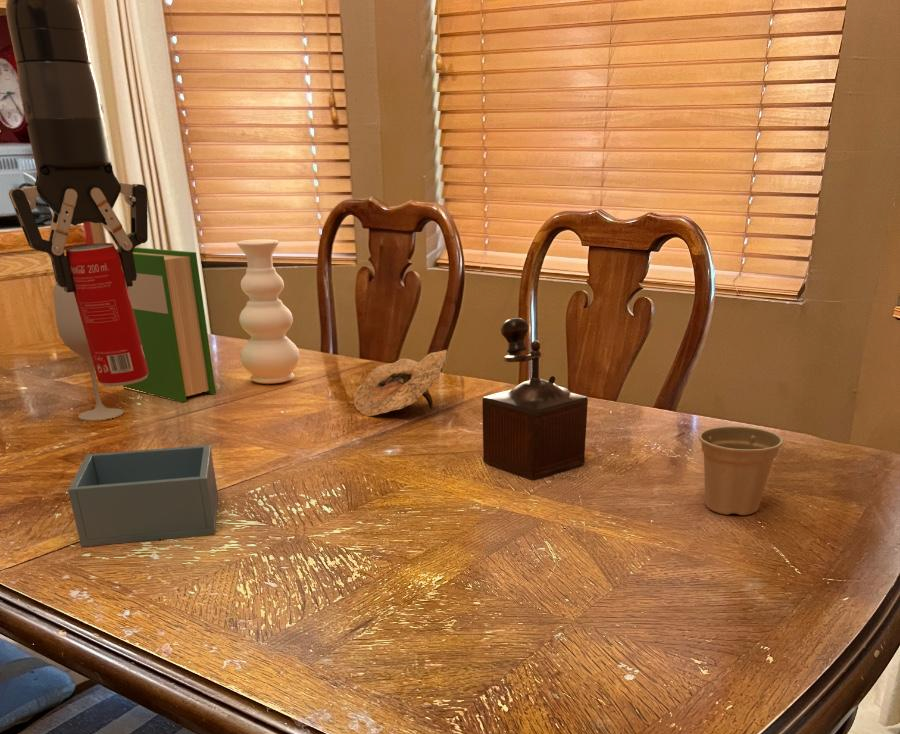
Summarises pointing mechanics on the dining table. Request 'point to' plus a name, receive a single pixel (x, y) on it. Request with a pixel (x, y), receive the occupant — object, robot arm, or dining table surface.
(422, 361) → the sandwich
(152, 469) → the open box
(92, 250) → the beverage can
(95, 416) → the wineglass
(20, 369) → the dining table surface
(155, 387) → the hardback book
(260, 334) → the vase
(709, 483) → the flower pot
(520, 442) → the manual coffee grinder
